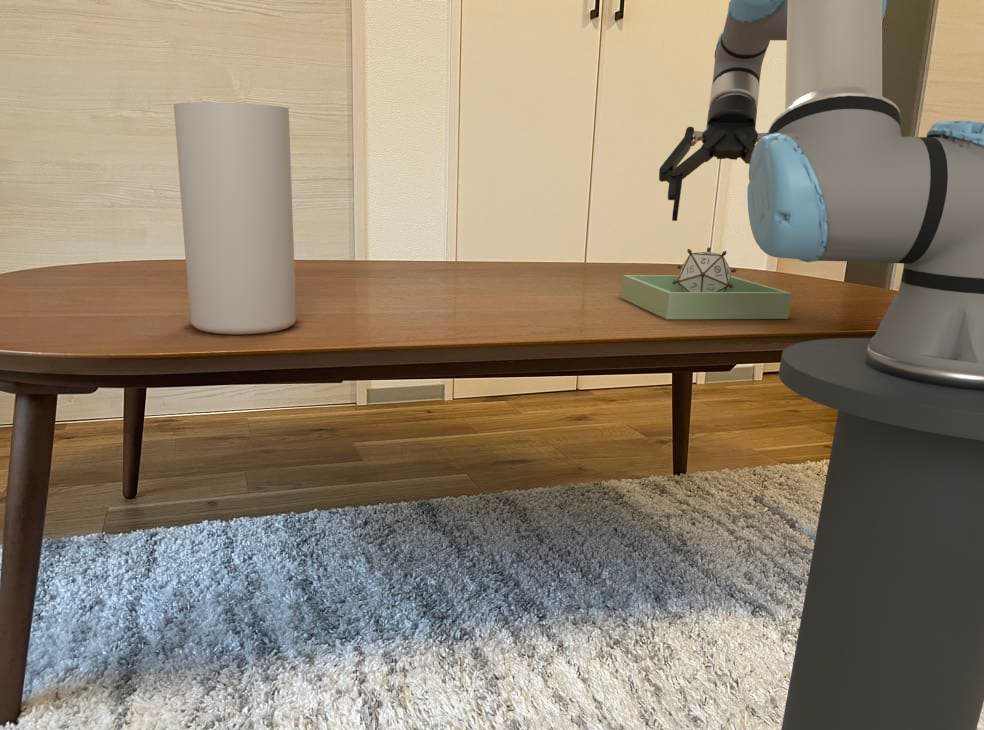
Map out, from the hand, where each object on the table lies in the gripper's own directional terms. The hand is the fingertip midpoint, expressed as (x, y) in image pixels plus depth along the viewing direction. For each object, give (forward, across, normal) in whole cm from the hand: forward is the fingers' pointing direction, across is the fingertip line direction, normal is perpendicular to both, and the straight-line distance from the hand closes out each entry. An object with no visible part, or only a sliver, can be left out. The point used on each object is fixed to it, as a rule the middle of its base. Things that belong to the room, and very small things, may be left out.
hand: (720, 218), depth 120 cm
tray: (+16, +2, +1) cm, 17 cm away
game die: (+16, +1, +1) cm, 16 cm away
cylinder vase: (+40, +55, +30) cm, 74 cm away
